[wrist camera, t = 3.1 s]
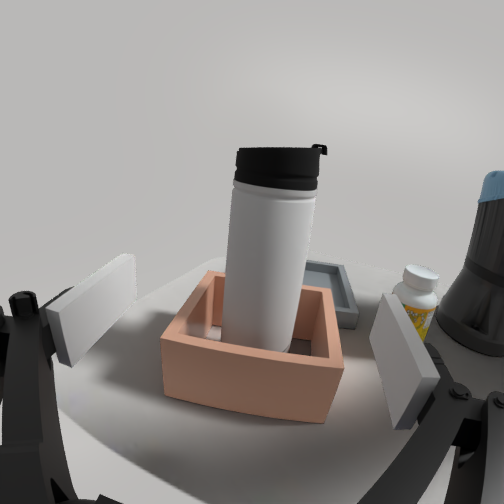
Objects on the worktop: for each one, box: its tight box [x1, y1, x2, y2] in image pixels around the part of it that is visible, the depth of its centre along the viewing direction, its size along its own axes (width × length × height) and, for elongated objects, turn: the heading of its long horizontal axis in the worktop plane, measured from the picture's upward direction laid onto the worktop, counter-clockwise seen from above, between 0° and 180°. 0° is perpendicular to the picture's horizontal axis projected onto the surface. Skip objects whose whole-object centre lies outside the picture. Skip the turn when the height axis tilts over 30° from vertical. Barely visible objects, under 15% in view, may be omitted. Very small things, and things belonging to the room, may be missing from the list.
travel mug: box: [221, 144, 327, 353], centre depth 25 cm, size 6×7×20 cm
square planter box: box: [160, 270, 344, 423], centre depth 28 cm, size 13×13×6 cm
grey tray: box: [302, 260, 359, 329], centre depth 44 cm, size 16×16×2 cm
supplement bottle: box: [392, 265, 439, 342], centre depth 31 cm, size 5×5×10 cm
